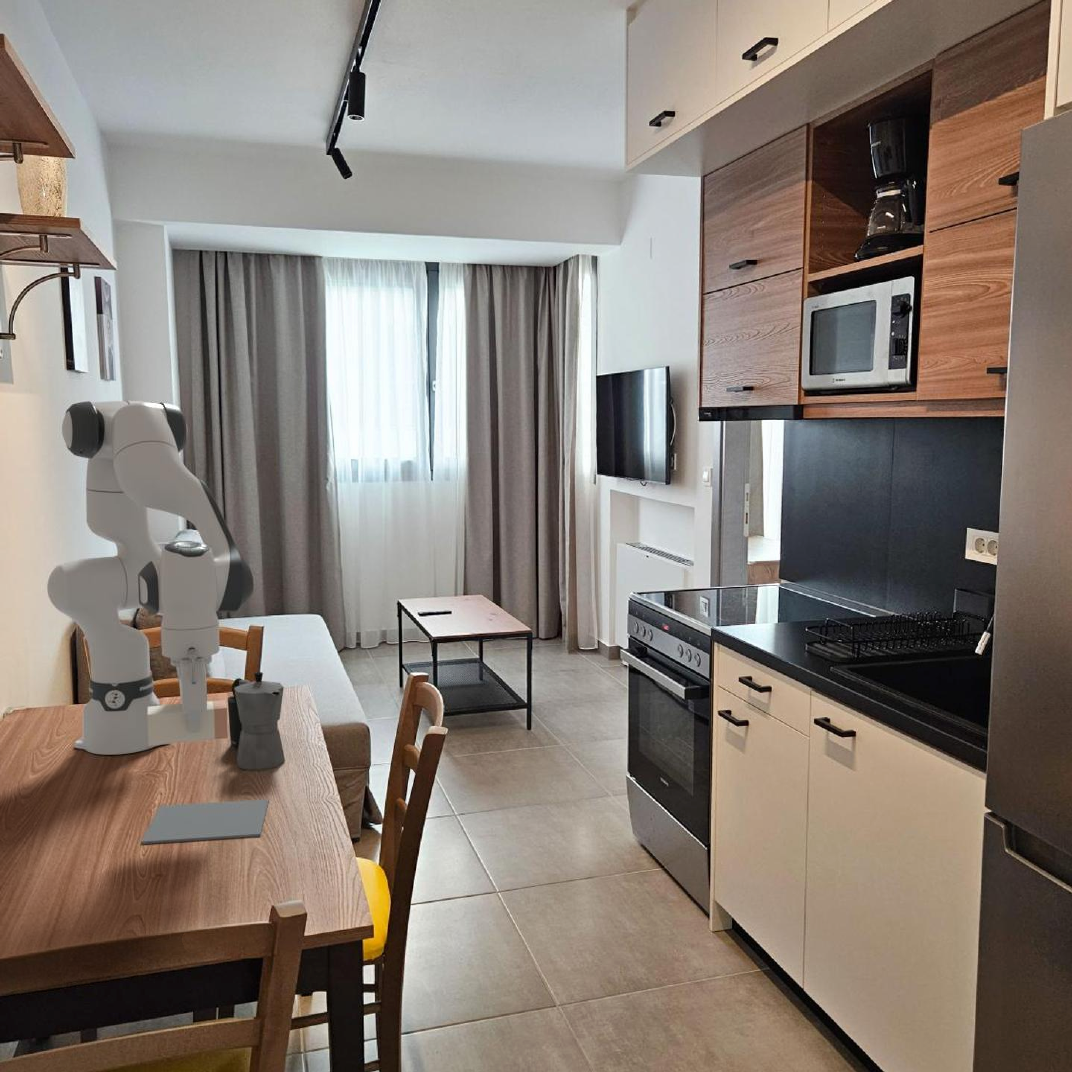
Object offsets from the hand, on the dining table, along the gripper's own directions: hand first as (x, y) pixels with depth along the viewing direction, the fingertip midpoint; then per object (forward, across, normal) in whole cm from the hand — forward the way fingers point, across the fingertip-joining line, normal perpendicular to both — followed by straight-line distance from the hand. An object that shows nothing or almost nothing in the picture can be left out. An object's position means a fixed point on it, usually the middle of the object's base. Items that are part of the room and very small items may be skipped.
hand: (193, 726), depth 160 cm
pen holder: (+16, +39, -12) cm, 44 cm away
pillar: (-1, 0, +7) cm, 7 cm away
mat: (+16, 0, -2) cm, 16 cm away
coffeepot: (+16, +28, -12) cm, 35 cm away
